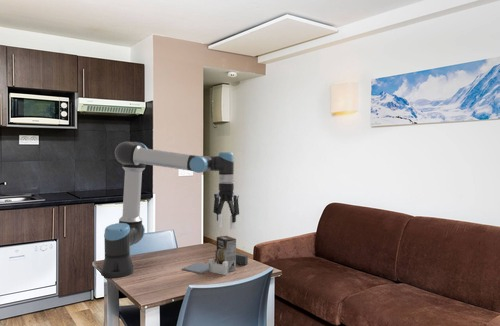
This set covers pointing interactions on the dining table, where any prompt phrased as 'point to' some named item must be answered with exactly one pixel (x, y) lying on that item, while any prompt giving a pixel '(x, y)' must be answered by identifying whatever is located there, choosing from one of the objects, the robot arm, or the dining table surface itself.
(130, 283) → the dining table surface
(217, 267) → the clip jaw
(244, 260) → the tie bar
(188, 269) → the mat
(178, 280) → the dining table surface
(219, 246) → the coffee box
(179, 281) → the dining table surface
